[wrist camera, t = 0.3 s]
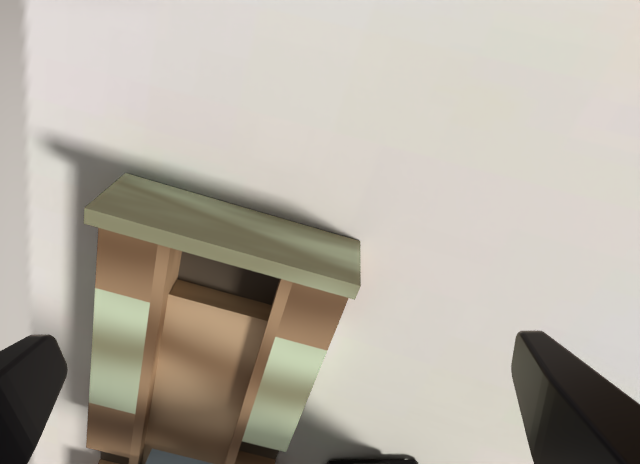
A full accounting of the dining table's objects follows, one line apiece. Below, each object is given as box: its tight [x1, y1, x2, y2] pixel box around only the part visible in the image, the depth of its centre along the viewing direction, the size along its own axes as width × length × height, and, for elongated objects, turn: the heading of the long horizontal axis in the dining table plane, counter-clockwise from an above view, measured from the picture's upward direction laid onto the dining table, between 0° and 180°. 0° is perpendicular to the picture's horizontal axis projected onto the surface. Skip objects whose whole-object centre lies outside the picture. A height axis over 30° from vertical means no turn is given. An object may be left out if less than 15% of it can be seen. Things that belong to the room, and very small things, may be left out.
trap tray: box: [84, 173, 361, 464], centre depth 29 cm, size 30×12×4 cm, turn 164°
